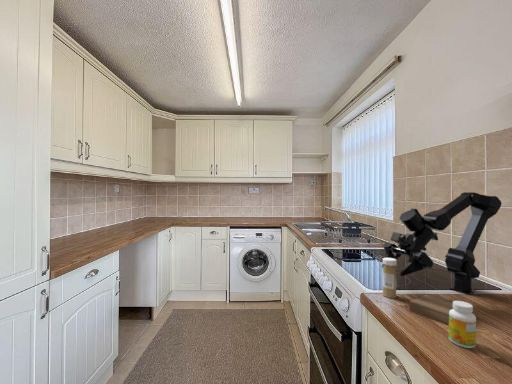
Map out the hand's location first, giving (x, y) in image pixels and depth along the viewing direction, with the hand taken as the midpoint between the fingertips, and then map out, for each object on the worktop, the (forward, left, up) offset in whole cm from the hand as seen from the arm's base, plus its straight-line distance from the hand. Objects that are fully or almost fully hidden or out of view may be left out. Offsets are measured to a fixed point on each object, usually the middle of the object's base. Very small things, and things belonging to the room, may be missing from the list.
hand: (391, 271), depth 95 cm
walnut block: (+1, +16, -9) cm, 18 cm away
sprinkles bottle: (+1, 0, -9) cm, 9 cm away
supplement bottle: (+14, +26, -9) cm, 31 cm away
